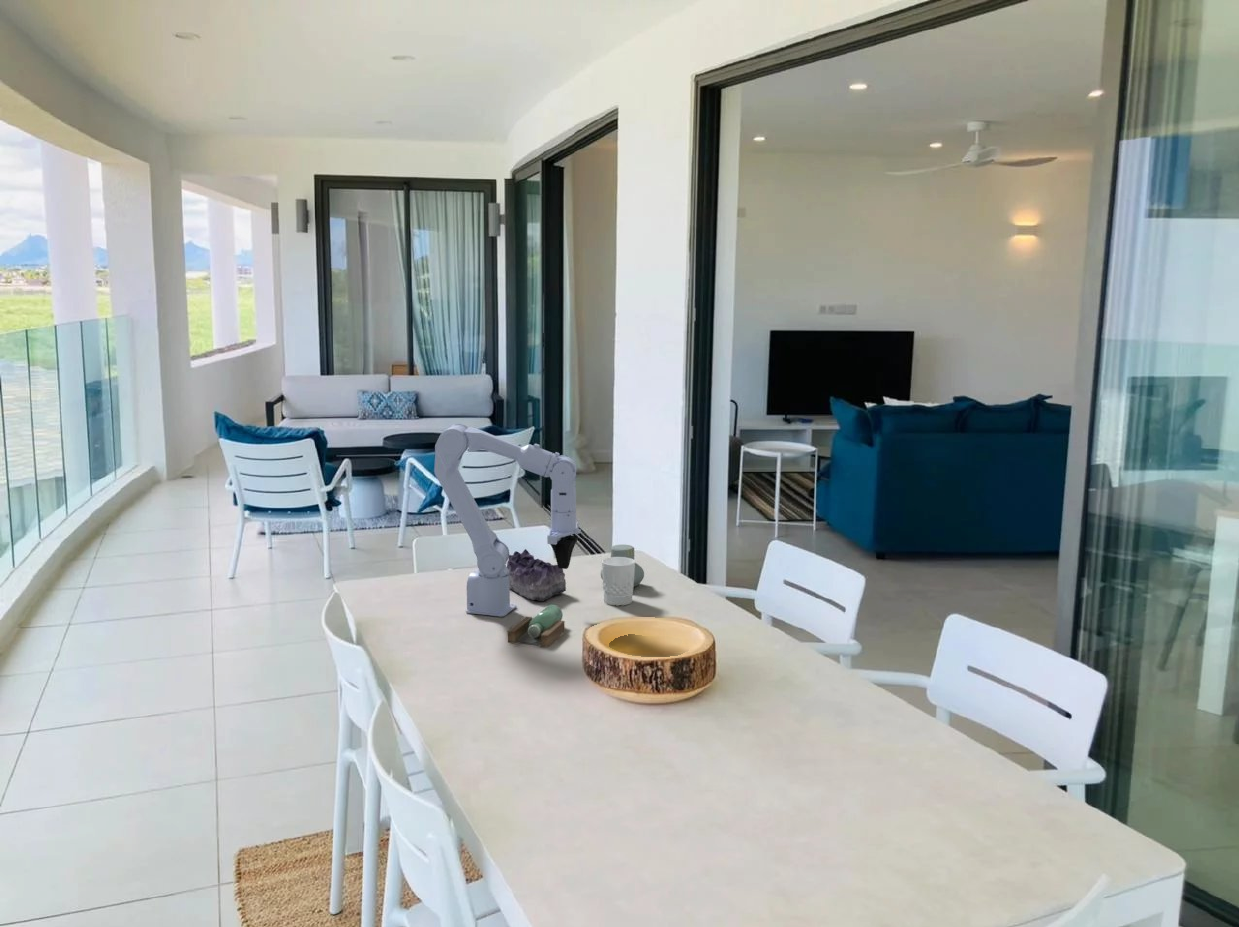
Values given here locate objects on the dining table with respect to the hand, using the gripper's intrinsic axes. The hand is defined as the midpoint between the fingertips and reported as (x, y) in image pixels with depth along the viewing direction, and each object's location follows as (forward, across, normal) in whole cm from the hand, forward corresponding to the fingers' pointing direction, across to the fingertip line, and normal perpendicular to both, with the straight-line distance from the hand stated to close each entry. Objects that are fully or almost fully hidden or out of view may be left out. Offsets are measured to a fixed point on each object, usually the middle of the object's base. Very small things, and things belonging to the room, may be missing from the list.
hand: (563, 567), depth 232 cm
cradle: (+10, -18, -1) cm, 21 cm away
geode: (+11, +12, +14) cm, 21 cm away
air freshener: (+11, +24, -6) cm, 27 cm away
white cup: (+11, +11, -10) cm, 18 cm away
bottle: (+8, -10, -1) cm, 13 cm away
